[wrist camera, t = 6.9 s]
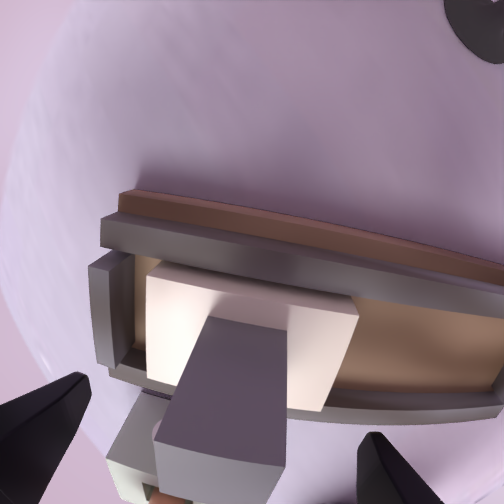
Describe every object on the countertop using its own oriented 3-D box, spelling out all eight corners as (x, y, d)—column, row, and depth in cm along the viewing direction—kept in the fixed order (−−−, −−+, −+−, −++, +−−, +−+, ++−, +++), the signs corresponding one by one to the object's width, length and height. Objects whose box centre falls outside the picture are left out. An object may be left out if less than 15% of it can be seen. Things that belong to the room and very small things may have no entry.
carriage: (317, 383, 14) (328, 527, 7) (160, 353, 15) (92, 479, 7) (349, 293, 13) (405, 443, 5) (164, 257, 13) (52, 373, 6)
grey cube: (233, 462, 20) (221, 526, 14) (146, 441, 20) (120, 498, 15) (246, 413, 18) (233, 490, 12) (140, 387, 18) (104, 454, 12)
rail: (474, 399, 16) (495, 435, 13) (131, 356, 17) (103, 398, 14) (536, 274, 13) (573, 300, 9) (133, 189, 14) (88, 204, 10)
